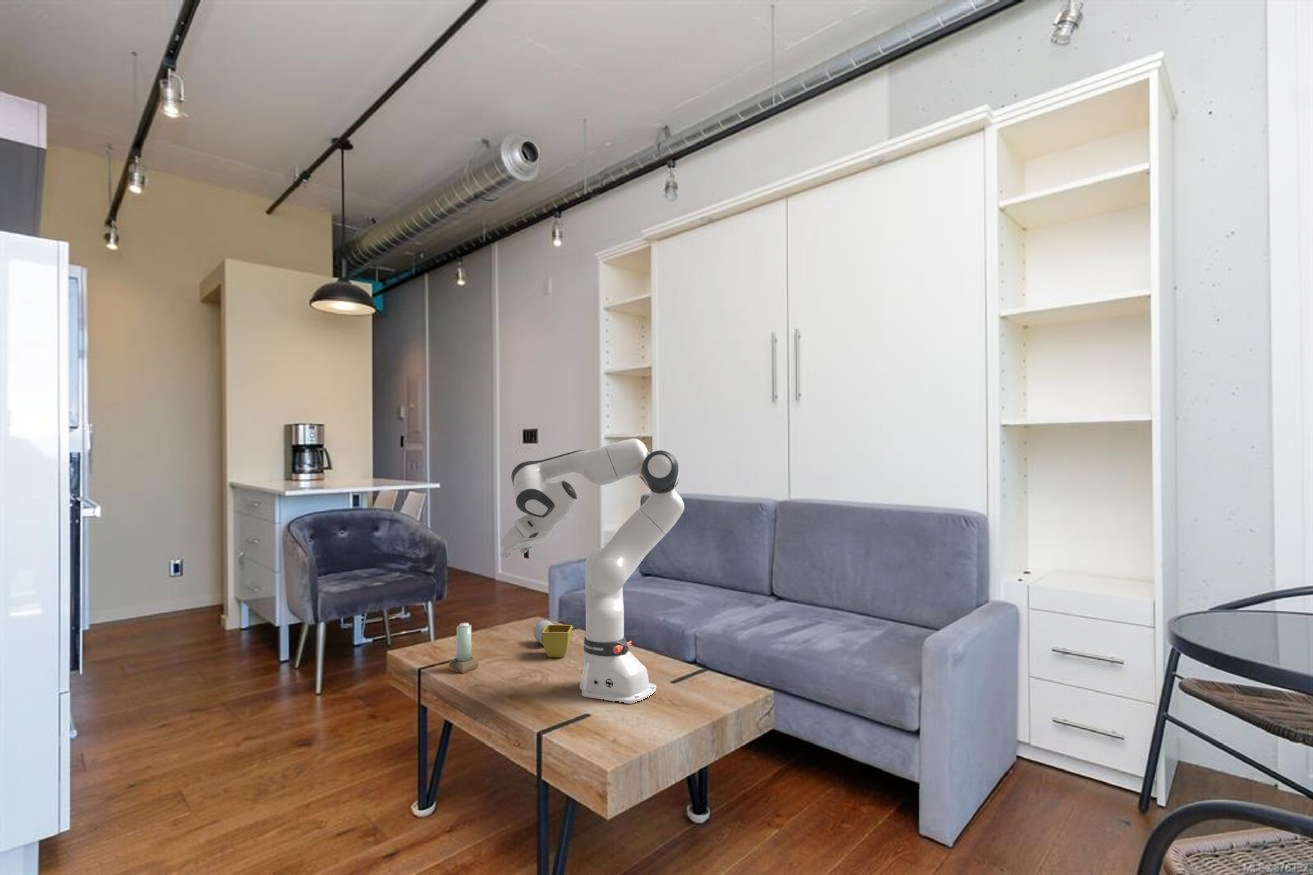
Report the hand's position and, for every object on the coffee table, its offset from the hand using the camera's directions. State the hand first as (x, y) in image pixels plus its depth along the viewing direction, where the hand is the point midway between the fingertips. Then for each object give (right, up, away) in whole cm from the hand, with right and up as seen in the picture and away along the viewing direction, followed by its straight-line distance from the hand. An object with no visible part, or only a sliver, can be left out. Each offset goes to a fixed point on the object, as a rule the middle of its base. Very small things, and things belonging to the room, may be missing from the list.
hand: (513, 553), depth 203 cm
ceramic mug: (+8, -36, +23) cm, 44 cm away
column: (-15, -32, -3) cm, 35 cm away
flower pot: (+12, -36, +10) cm, 39 cm away
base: (-15, -35, -3) cm, 38 cm away
